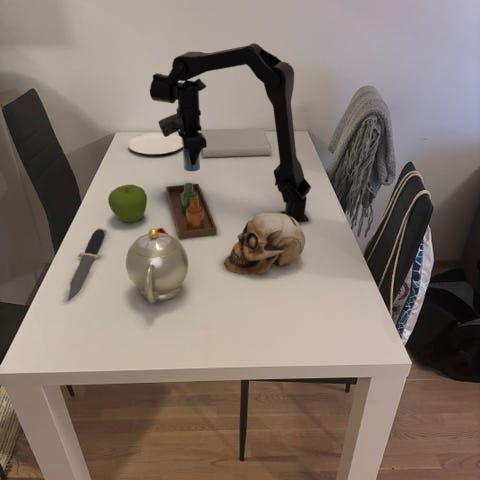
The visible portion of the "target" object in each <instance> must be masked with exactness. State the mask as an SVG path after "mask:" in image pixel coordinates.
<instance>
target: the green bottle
mask: <svg viewBox="0 0 480 480" xmlns="http://www.w3.org/2000/svg"><path fill="white" fill-rule="evenodd" d="M193 184H194V183H192V182H185V184H183V185H184V188H185V190H184V191H183V193H181V205H182V214H183V215H185V216H186V209H187V208H189V206H190V199H192V198H197V199H198V194H197V193H196V192H195V191H194V190H193Z"/></svg>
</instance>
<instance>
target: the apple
mask: <svg viewBox="0 0 480 480" xmlns="http://www.w3.org/2000/svg"><path fill="white" fill-rule="evenodd" d="M107 200H108V201H107V203H108V205H109V207H110V210H111V212H112V213H113V214H114V216H115V217H116V218H117V219H118V220H120V221H122V222H125V223H126V224H127V223H128V224H132V223H136V222H138V221H139V220H140V219H142V218H143V216H144V215H145V212H146V209H147V205H148V204H147V203H148V195H147V193H146V191H145V190H144V189H143V188H142V187H140V186H138V185H135V184H124V185H121V186H118V187H116V188H115V189H113V190H112V191H111V192H110V193H109V194H108V199H107Z"/></svg>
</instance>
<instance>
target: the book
mask: <svg viewBox="0 0 480 480" xmlns="http://www.w3.org/2000/svg"><path fill="white" fill-rule="evenodd" d="M200 133H202V134H203V135H204V136H205V138H206V145H207V147H206V148H202V150H201V152H202V156H203V158H224V157H226V158H227V157H251V156H253V157H254V156H255V157H256V156H271V149H272V148H271V143H270V140H269V138H268V136H267V134H266V132H265V130H264V128H263V127H257V128H255V127H254V128H252V127H251V128H220V129H219V128H217V129H201V131H200Z"/></svg>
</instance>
